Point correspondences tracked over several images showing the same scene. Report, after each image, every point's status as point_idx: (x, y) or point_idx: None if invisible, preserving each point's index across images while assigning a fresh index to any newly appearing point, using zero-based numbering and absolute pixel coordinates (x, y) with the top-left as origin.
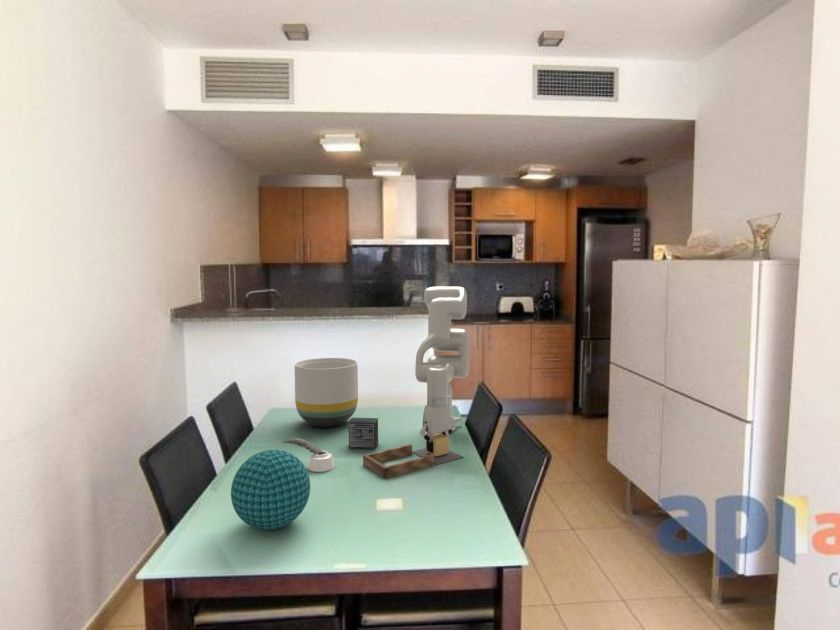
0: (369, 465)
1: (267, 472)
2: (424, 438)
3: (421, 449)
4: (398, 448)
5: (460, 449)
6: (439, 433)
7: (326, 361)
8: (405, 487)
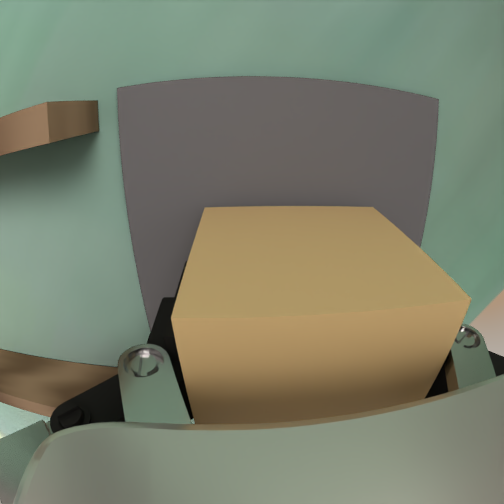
0: None
1: None
2: (92, 397)
3: (233, 83)
4: None
5: (476, 265)
6: (441, 336)
7: None
8: (7, 419)
